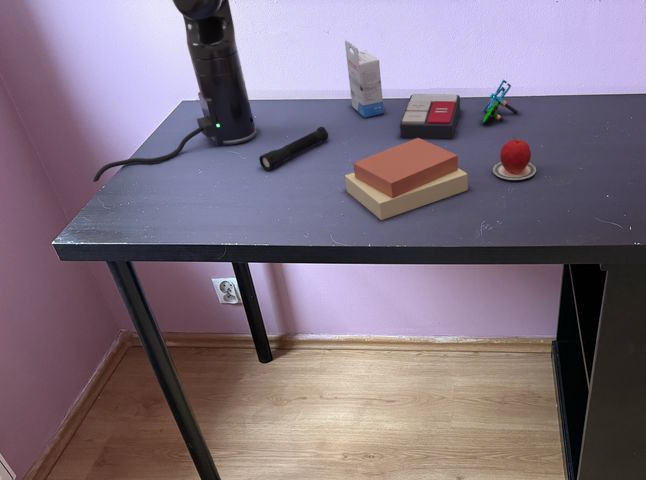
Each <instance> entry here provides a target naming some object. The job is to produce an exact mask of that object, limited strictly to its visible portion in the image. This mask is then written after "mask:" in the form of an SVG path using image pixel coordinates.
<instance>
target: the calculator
mask: <svg viewBox="0 0 646 480" xmlns="http://www.w3.org/2000/svg"><path fill="white" fill-rule="evenodd" d="M460 113H461V96H460V95H459V94H456V93H412V94H411V95H410V97H409V99H408V102H407V105H406V107H405V109H404V113H403V115H402V118H401V119H400V122H399V131H400V133H399V134H400V138H402V139H416V138H420V139H438V140H439V139H440V140H441V139H443V140H444V139H445V140H449V139H450V140H451V139H453V137H454V134H455V129H456V127H457V126H456V125H457V122H458V118H459V116H460Z"/></svg>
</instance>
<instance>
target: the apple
mask: <svg viewBox="0 0 646 480" xmlns="http://www.w3.org/2000/svg"><path fill="white" fill-rule="evenodd" d="M512 138H513V139H511V140H508V141H506V142H505V143H504V144H503V146H502V147H501V150H500V155H499V157H500V162H498V163H496V164H495V165H494V166H493V167H492V173H493V174H494V175H495V176H496V177H498V178H500V179H504V180H508V181H521V180H526V179H529V178H531V177H533V176H534V175H535V174H536V172H537V169H536V166H535V165H534V164H532V163H531V162H530V161H531V158H532V152H531V151H532V150H531V148H530V145H529V143H528V142H526V141H524V140H523V139H516V137H515V136H512Z"/></svg>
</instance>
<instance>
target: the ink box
mask: <svg viewBox="0 0 646 480" xmlns="http://www.w3.org/2000/svg"><path fill="white" fill-rule="evenodd" d="M344 46H345V57H346V66H347V74H348V82H349V89H350V90H349V91H350V99H351V107H352V108H353V109H354V110H356V112H358V114H360V115H361V116H362V117H363V118H364V119H367V118H370V117H374V116H379V115H383V114H385V109H384V99H383V89H382V79H381V68H380V67H381V66H380V60H379V59H378V58H376V57H375V56H374V55H373V54H371V53H370V52H368V51H367V50H359V49H358V47H356V46H355V45H354V44H353V43H351V42H350V41H349V40H347V39H346V38H345V39H344Z"/></svg>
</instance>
